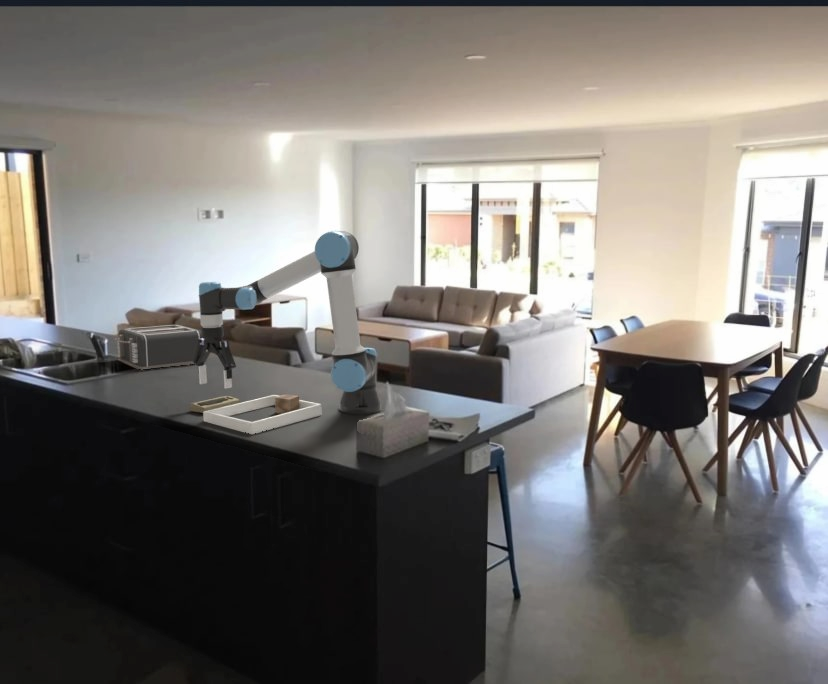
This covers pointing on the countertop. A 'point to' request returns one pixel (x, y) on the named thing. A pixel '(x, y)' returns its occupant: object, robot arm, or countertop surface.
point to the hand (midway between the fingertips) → (215, 385)
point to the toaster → (158, 346)
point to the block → (286, 403)
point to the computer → (213, 404)
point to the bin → (223, 419)
